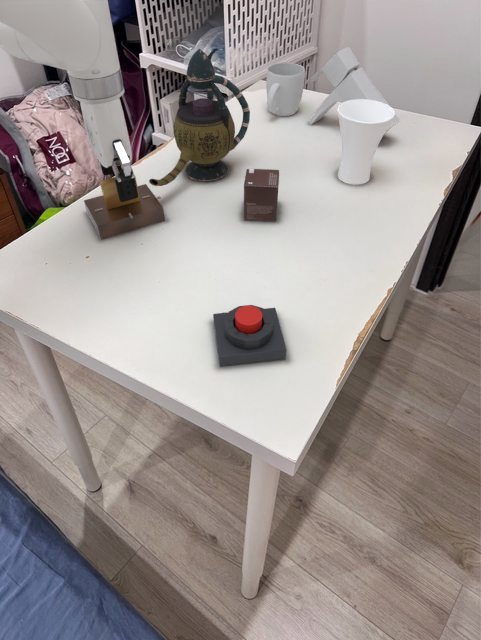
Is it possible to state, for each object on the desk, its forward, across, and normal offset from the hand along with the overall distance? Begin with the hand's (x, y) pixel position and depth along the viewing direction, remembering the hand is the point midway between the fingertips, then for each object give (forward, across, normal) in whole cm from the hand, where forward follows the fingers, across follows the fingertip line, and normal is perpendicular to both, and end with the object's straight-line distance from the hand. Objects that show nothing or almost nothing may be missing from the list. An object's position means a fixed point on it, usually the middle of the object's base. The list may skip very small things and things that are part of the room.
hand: (120, 185), depth 81 cm
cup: (+7, +8, +46) cm, 47 cm away
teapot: (+7, -6, +17) cm, 19 cm away
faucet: (+7, -9, +57) cm, 58 cm away
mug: (+7, -25, +48) cm, 55 cm away
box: (+7, +11, +22) cm, 26 cm away
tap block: (+6, 0, 0) cm, 7 cm away
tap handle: (+3, 0, 0) cm, 3 cm away
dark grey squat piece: (+6, +37, +5) cm, 38 cm away
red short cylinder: (+3, +37, +5) cm, 38 cm away
